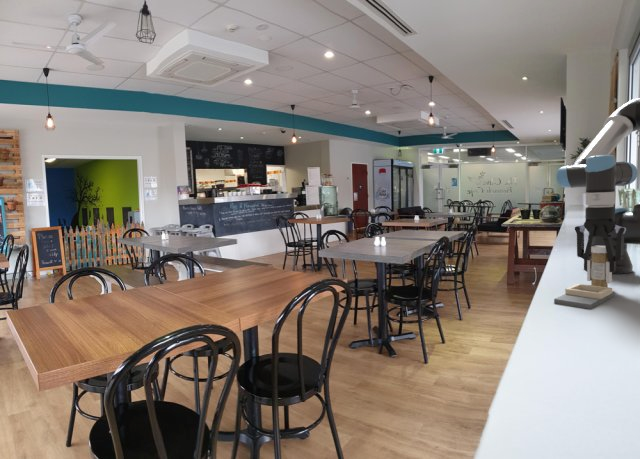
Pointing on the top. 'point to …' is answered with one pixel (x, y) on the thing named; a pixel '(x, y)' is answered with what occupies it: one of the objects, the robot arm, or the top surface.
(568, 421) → the top surface
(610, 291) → the slate base board
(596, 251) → the sprinkles bottle
